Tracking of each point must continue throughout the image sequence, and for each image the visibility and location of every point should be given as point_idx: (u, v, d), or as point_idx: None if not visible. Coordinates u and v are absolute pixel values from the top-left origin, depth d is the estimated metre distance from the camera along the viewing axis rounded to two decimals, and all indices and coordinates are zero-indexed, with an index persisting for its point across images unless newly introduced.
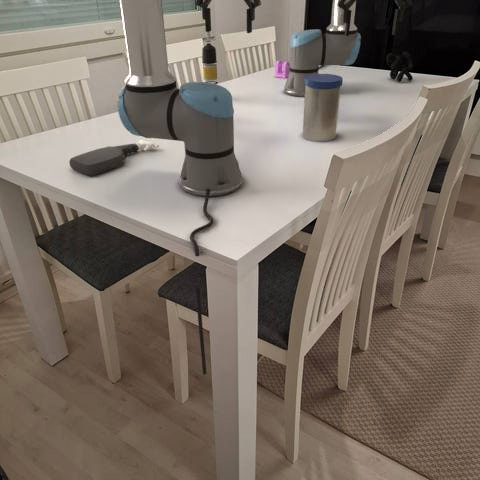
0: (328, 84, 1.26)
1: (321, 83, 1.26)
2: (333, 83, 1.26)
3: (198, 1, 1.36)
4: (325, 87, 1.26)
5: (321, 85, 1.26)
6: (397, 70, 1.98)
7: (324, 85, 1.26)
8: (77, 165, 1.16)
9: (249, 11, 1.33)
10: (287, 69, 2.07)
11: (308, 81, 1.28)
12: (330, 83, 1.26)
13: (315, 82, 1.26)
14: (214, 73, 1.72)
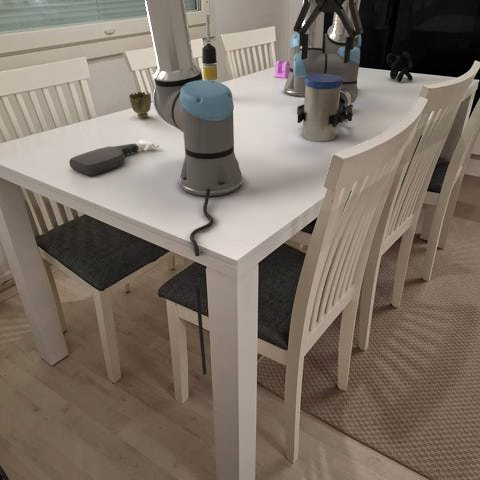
0: (328, 84, 1.26)
1: (321, 83, 1.26)
2: (333, 83, 1.26)
3: None
4: (325, 87, 1.26)
5: (321, 85, 1.26)
6: (397, 70, 1.98)
7: (324, 85, 1.26)
8: (77, 165, 1.16)
9: None
10: (287, 69, 2.07)
11: (308, 81, 1.28)
12: (330, 83, 1.26)
13: (315, 82, 1.26)
14: (214, 73, 1.72)
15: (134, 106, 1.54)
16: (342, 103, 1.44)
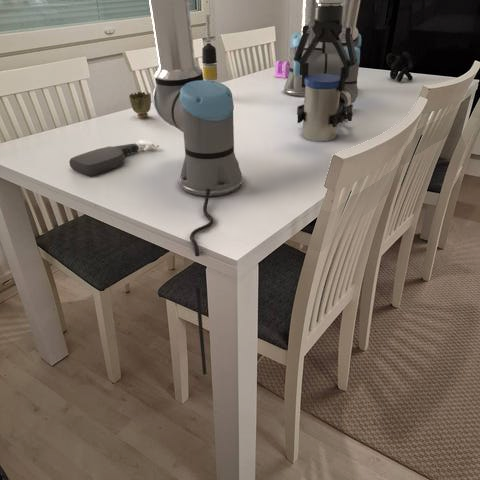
0: (328, 84, 1.26)
1: (321, 83, 1.26)
2: (333, 83, 1.26)
3: None
4: (325, 87, 1.26)
5: (321, 85, 1.26)
6: (397, 70, 1.98)
7: (324, 85, 1.26)
8: (77, 165, 1.16)
9: None
10: (287, 69, 2.07)
11: (308, 81, 1.28)
12: (330, 83, 1.26)
13: (315, 82, 1.26)
14: (214, 73, 1.72)
15: (134, 106, 1.54)
16: (342, 103, 1.44)
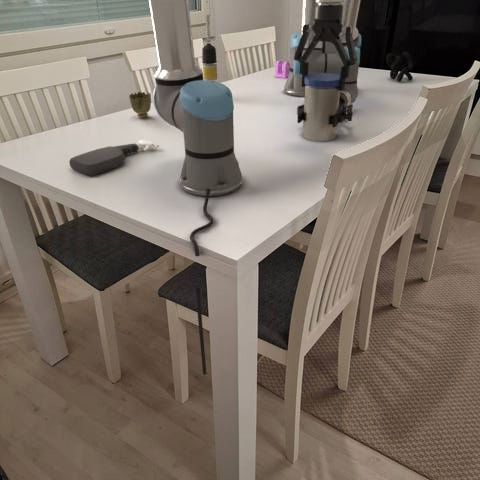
0: None
1: None
2: None
3: None
4: None
5: None
6: (397, 70, 1.98)
7: None
8: (77, 165, 1.16)
9: None
10: (287, 69, 2.07)
11: (331, 82, 1.25)
12: None
13: (338, 80, 1.26)
14: (214, 73, 1.72)
15: (134, 106, 1.54)
16: (342, 103, 1.44)
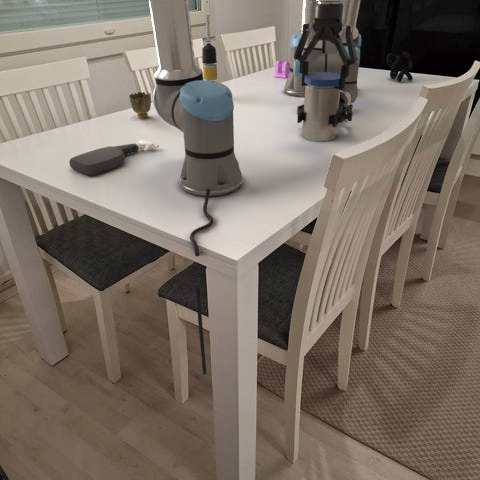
0: None
1: None
2: None
3: None
4: None
5: None
6: (397, 70, 1.98)
7: None
8: (77, 165, 1.16)
9: None
10: (287, 69, 2.07)
11: None
12: None
13: None
14: (214, 73, 1.72)
15: (134, 106, 1.54)
16: (342, 103, 1.44)
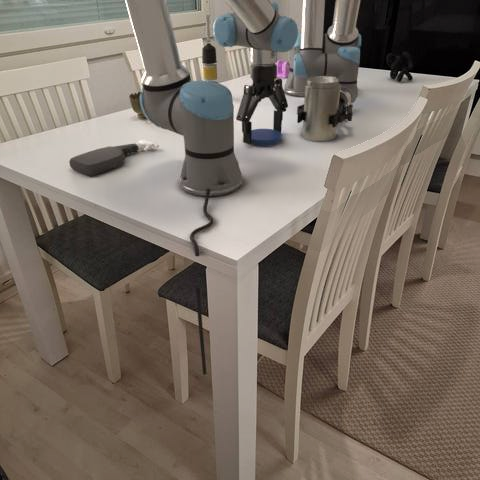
0: None
1: None
2: None
3: None
4: None
5: None
6: (397, 70, 1.98)
7: None
8: (77, 165, 1.16)
9: None
10: (287, 69, 2.07)
11: None
12: None
13: None
14: (214, 73, 1.72)
15: (134, 106, 1.54)
16: (342, 103, 1.44)
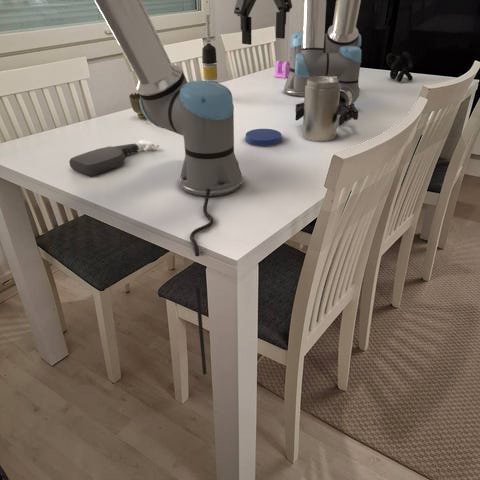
0: None
1: None
2: None
3: None
4: None
5: None
6: (397, 70, 1.98)
7: None
8: (77, 165, 1.16)
9: None
10: (287, 69, 2.07)
11: None
12: None
13: None
14: (214, 73, 1.72)
15: (134, 106, 1.54)
16: (343, 102, 1.45)
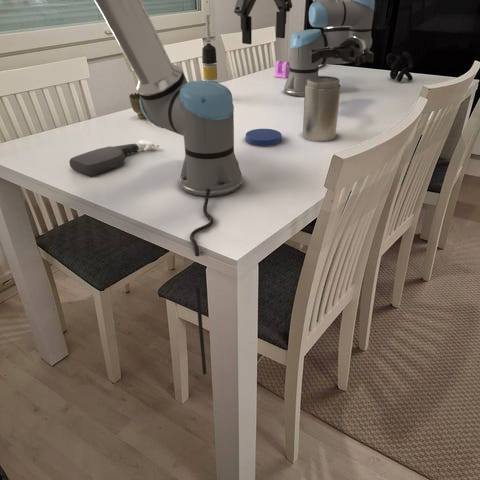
0: None
1: None
2: None
3: None
4: None
5: None
6: (397, 70, 1.98)
7: None
8: (77, 165, 1.16)
9: None
10: (287, 69, 2.07)
11: None
12: None
13: None
14: (214, 73, 1.72)
15: (134, 106, 1.54)
16: (357, 48, 1.46)
